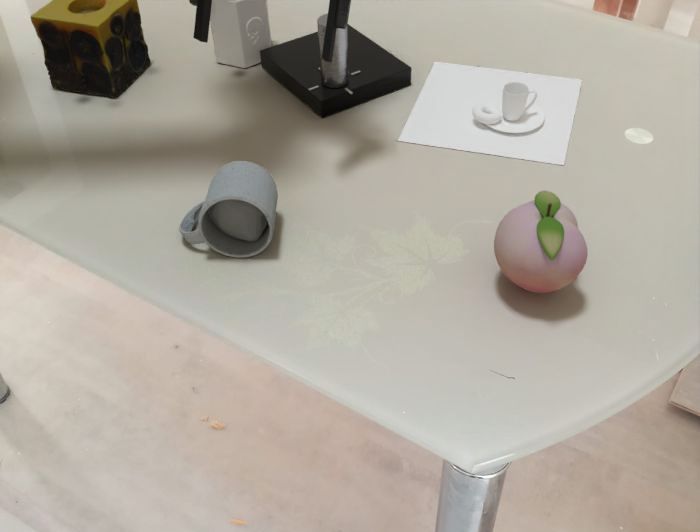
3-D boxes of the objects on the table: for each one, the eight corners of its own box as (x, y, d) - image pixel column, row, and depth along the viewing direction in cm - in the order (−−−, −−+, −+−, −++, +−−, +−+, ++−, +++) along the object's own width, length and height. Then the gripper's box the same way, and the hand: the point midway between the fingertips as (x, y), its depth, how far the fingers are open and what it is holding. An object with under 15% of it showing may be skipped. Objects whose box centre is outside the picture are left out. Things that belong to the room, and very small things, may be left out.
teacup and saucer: (467, 130, 95) (470, 100, 92) (479, 97, 100) (483, 67, 97) (539, 140, 93) (544, 110, 90) (548, 106, 98) (553, 76, 95)
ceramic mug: (282, 209, 86) (274, 149, 80) (277, 258, 81) (267, 198, 75) (188, 212, 87) (173, 153, 81) (176, 260, 81) (160, 201, 75)
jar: (232, 75, 106) (218, -14, 97) (203, 52, 111) (187, -35, 102) (286, 54, 110) (278, -33, 101) (256, 33, 114) (246, -53, 105)
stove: (261, 67, 107) (259, 49, 105) (346, 38, 112) (345, 20, 110) (325, 121, 98) (324, 102, 96) (415, 87, 102) (415, 69, 100)
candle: (51, 89, 105) (26, 17, 98) (90, 54, 111) (69, -17, 104) (116, 100, 103) (96, 27, 95) (153, 63, 109) (136, -8, 101)
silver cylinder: (330, 91, 98) (327, 27, 92) (315, 79, 100) (311, 15, 94) (354, 82, 99) (352, 18, 93) (339, 70, 101) (336, 7, 95)
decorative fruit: (481, 256, 80) (491, 176, 72) (559, 250, 80) (577, 170, 73) (499, 321, 74) (512, 241, 66) (584, 315, 74) (607, 234, 66)
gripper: (416, -143, 79) (381, 72, 84) (180, -177, 81) (160, 37, 86) (415, -175, 72) (378, 63, 77) (156, -212, 73) (135, 25, 78)
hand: (263, 50), depth 81 cm, fingers open, 13 cm apart
